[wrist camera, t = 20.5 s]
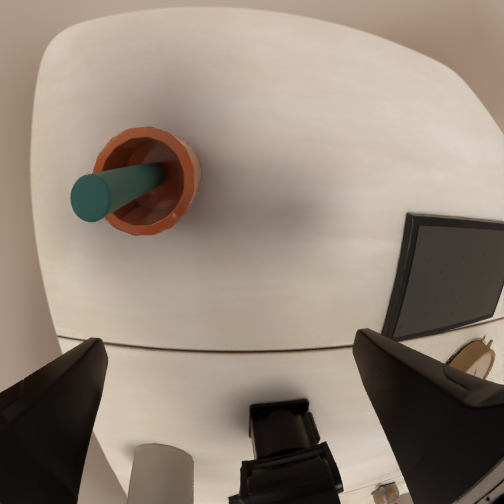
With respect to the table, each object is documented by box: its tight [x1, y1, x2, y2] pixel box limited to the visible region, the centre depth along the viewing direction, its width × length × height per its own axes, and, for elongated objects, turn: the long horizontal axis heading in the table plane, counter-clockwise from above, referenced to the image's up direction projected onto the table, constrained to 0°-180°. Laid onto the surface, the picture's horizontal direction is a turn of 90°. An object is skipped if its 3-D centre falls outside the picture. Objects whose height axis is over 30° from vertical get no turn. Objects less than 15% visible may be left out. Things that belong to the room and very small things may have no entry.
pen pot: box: [93, 127, 201, 236], centre depth 16 cm, size 6×6×5 cm
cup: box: [127, 444, 194, 504], centre depth 26 cm, size 8×8×10 cm
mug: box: [373, 484, 400, 504], centre depth 43 cm, size 12×7×7 cm, turn 28°
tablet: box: [381, 213, 504, 342], centre depth 25 cm, size 20×13×1 cm, turn 89°
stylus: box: [71, 163, 166, 222], centre depth 13 cm, size 2×2×11 cm
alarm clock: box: [449, 340, 495, 379], centre depth 30 cm, size 11×5×15 cm
